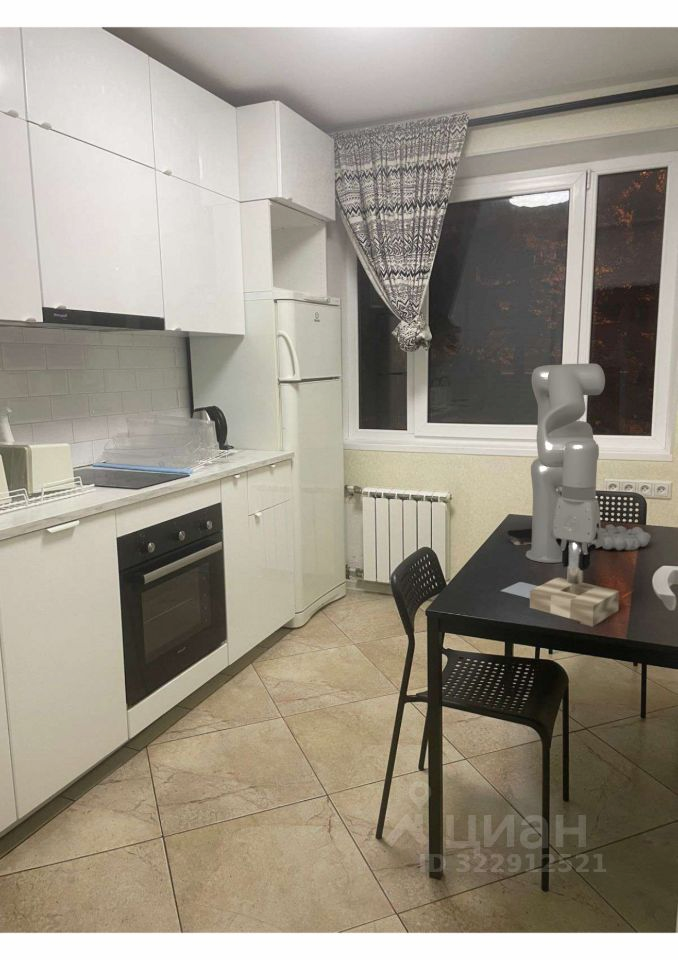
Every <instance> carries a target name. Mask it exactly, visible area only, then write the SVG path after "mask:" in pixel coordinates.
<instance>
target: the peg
mask: <svg viewBox="0 0 678 960" xmlns="http://www.w3.org/2000/svg"><path fill="white" fill-rule="evenodd" d="M581 554H582V543H581V542H575V541H570V540H569V545H568V566H567V571H566V573H567V574H566V579H567V582H568V583H571V584H582V583H584V570H583V571H582V570H580V555H581Z"/></svg>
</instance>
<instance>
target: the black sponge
mask: <svg viewBox="0 0 678 960" xmlns="http://www.w3.org/2000/svg"><path fill="white" fill-rule="evenodd" d="M506 538H507V540H508V541H510V542H511V543H513V545H515V546H519V545H521V546H528V545H527V544H531V545H532V528H526V529H524V528H523V529H513V530H512V529H510V530H508V531H507V534H506Z"/></svg>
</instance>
